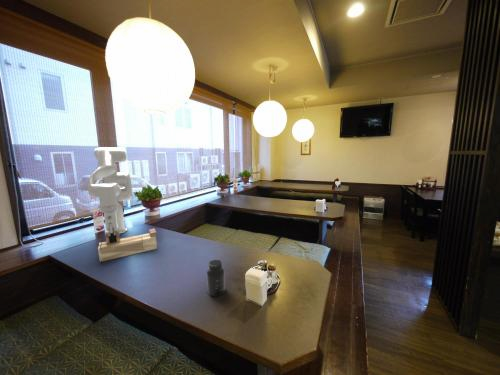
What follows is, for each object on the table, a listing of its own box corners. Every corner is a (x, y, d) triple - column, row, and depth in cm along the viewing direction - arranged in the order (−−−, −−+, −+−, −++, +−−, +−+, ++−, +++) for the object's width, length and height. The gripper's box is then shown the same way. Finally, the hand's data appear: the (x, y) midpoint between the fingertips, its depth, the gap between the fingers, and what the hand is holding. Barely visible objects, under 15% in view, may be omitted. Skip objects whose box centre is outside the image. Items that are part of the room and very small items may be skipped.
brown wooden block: (149, 233, 122) (148, 229, 122) (154, 232, 124) (154, 228, 123) (150, 237, 116) (150, 233, 116) (156, 236, 118) (156, 232, 117)
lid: (102, 244, 111) (100, 231, 110) (141, 236, 121) (139, 225, 120) (100, 250, 104) (99, 236, 102) (142, 241, 113) (141, 229, 112)
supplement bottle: (204, 291, 80) (202, 262, 78) (218, 283, 84) (217, 256, 83) (214, 299, 75) (212, 269, 73) (228, 291, 79) (227, 262, 78)
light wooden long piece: (101, 255, 111) (99, 242, 110) (154, 243, 125) (153, 232, 124) (99, 261, 104) (97, 248, 103) (157, 248, 118) (155, 236, 117)
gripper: (117, 210, 102) (121, 244, 105) (117, 204, 116) (121, 235, 119) (98, 212, 98) (103, 248, 101) (101, 206, 112) (105, 237, 115)
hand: (113, 240), depth 110 cm, fingers closed on lid, 3 cm apart
